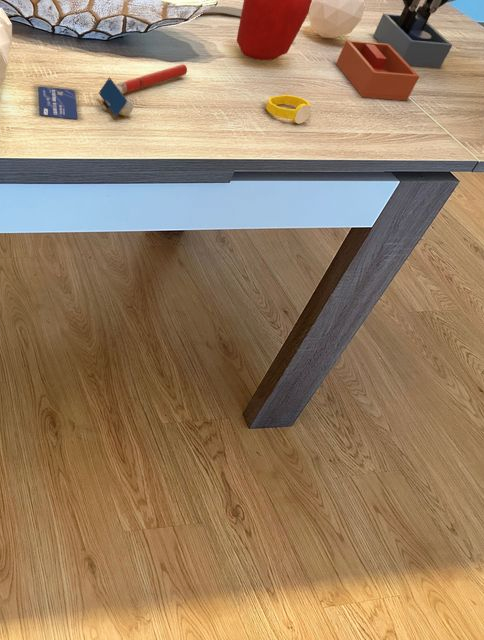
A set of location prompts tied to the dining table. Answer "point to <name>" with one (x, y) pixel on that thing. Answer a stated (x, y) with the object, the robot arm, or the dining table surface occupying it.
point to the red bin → (377, 72)
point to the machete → (226, 10)
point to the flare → (152, 78)
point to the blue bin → (413, 43)
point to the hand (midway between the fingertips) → (407, 31)
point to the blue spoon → (418, 30)
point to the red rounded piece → (270, 26)
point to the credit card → (57, 103)
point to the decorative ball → (335, 16)
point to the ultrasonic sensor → (115, 99)
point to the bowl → (4, 43)
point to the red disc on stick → (374, 57)
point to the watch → (296, 114)
